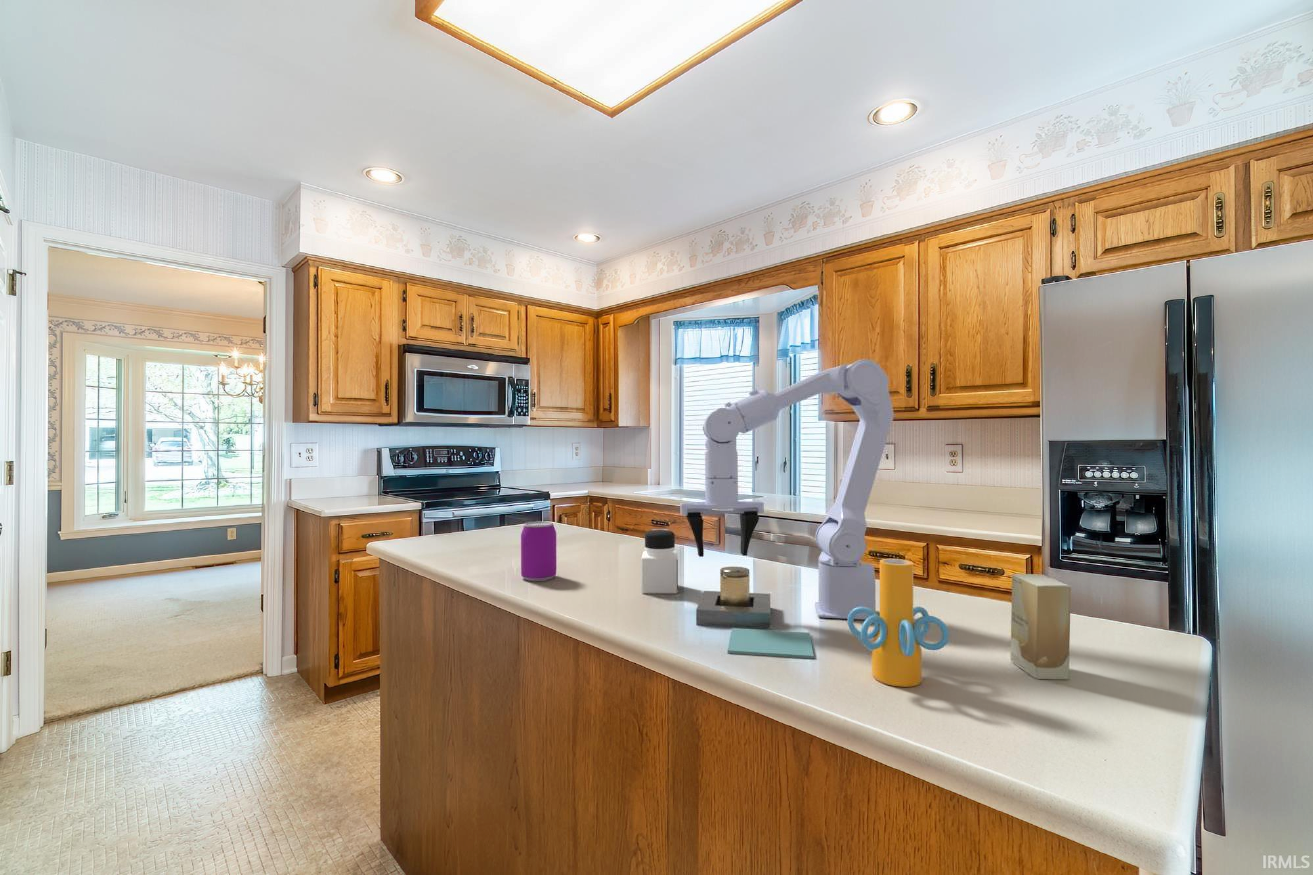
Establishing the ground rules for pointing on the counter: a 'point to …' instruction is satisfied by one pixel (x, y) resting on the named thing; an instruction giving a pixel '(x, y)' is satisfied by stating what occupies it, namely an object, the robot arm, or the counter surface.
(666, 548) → the medicine bottle
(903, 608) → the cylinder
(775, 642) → the mat
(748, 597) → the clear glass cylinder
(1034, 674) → the skincare box
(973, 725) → the counter surface
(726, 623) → the housing
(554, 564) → the beverage can
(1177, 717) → the counter surface
